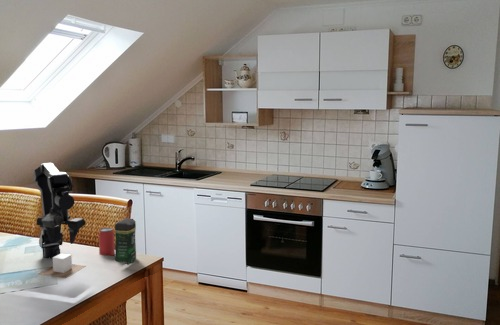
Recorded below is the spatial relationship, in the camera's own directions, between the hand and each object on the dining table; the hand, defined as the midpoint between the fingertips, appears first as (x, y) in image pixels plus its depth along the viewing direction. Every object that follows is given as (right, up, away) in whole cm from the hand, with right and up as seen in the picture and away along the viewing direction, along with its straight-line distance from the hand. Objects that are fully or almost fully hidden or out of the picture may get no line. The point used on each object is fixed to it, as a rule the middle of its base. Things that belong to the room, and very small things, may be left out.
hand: (61, 242), depth 181 cm
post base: (0, -13, +2) cm, 13 cm away
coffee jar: (+21, -11, +17) cm, 29 cm away
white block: (0, -11, +2) cm, 12 cm away
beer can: (+11, -10, +24) cm, 28 cm away
